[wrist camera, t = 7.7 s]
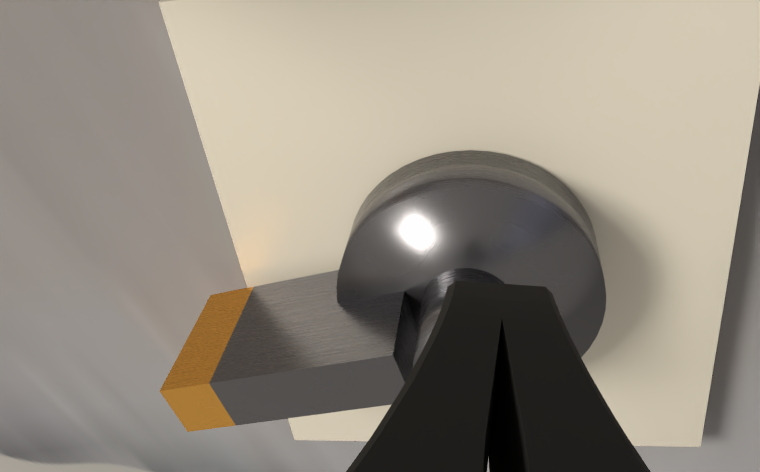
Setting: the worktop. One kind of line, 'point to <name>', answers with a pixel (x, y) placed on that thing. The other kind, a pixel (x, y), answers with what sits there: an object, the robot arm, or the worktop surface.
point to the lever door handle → (389, 293)
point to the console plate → (495, 150)
